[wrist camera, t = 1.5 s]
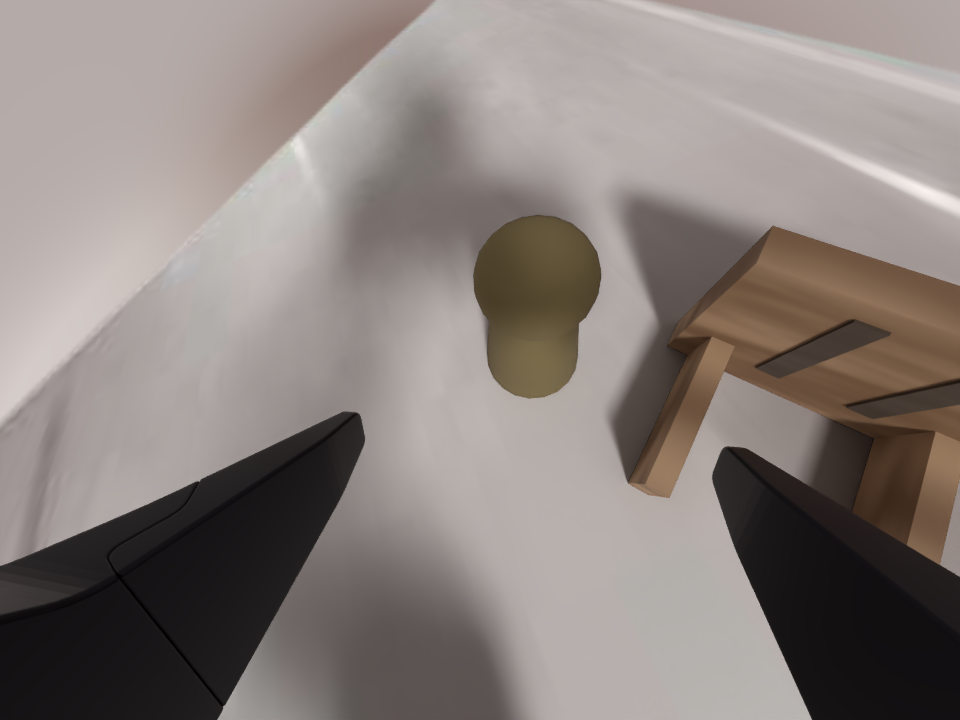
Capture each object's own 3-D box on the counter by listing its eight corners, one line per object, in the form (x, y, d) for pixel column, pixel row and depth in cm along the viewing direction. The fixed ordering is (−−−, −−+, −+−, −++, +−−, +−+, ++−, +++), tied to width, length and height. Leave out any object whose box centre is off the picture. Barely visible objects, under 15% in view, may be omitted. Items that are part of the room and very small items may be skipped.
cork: (478, 326, 24) (443, 213, 14) (562, 304, 24) (589, 172, 13) (498, 408, 22) (475, 347, 12) (590, 385, 22) (649, 302, 11)
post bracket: (885, 631, 16) (1284, 802, 8) (606, 470, 20) (666, 466, 11) (936, 430, 18) (1283, 390, 10) (678, 321, 22) (773, 225, 14)
